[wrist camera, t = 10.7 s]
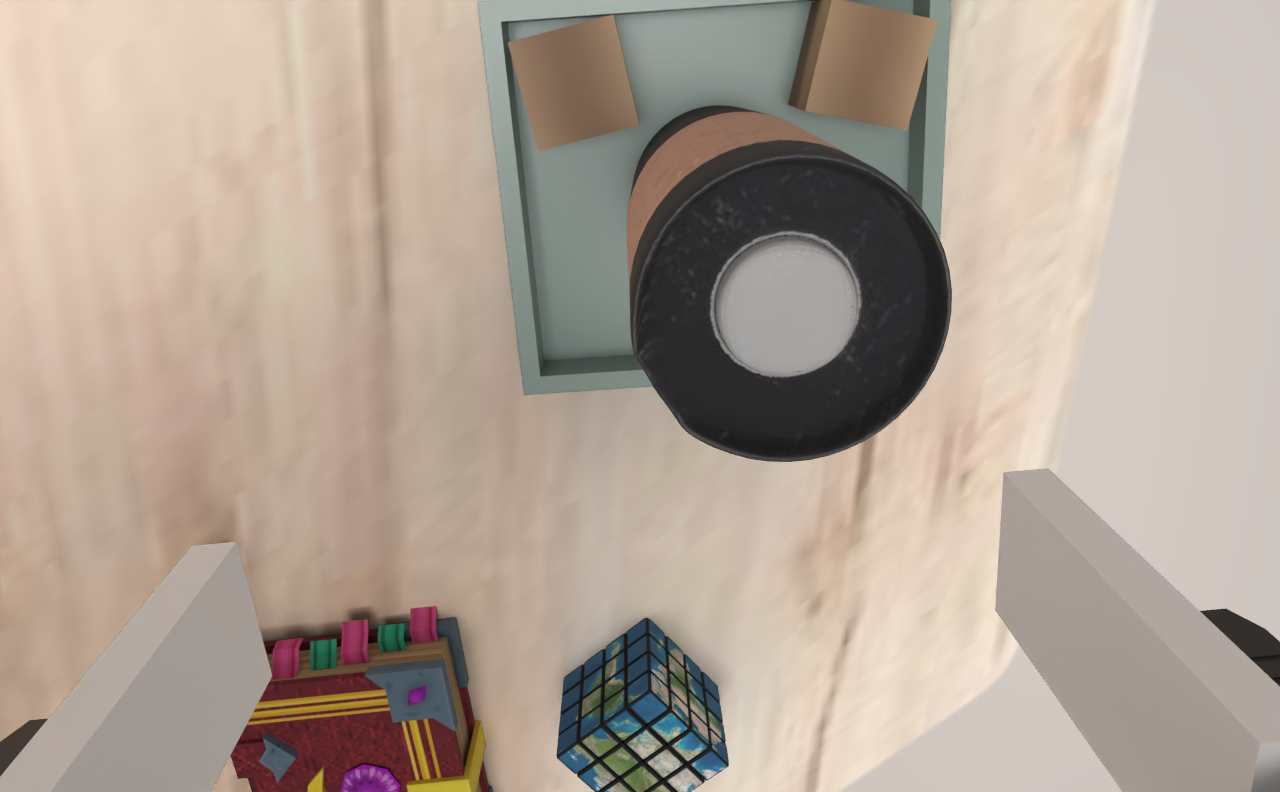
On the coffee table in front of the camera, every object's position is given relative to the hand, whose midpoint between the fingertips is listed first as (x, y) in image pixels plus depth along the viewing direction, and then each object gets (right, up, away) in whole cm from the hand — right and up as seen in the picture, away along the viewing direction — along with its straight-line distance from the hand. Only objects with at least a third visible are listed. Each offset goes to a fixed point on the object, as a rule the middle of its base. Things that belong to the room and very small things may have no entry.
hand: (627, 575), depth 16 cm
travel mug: (+3, +12, +24) cm, 27 cm away
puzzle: (0, -12, +34) cm, 36 cm away
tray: (+4, +12, +25) cm, 28 cm away
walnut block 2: (+9, +17, +22) cm, 29 cm away
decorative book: (-14, -15, +35) cm, 41 cm away
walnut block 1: (-2, +16, +22) cm, 28 cm away
